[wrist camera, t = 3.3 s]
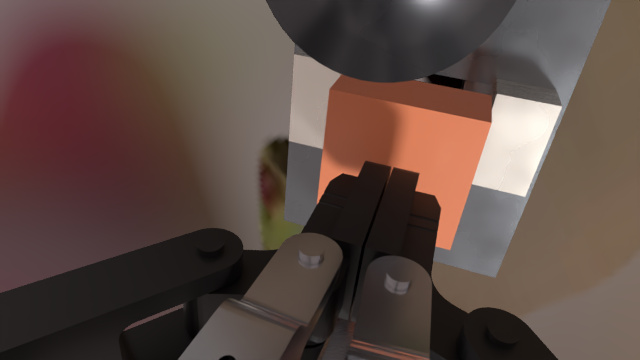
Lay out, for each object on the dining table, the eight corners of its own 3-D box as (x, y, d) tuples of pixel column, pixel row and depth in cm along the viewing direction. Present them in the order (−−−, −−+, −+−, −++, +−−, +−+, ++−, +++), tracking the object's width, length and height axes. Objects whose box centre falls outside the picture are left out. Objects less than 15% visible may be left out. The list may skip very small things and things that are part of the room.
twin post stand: (330, -151, 16) (-131, -276, 4) (638, -121, 14) (1444, -193, 2) (300, 206, 25) (120, 502, 13) (489, 256, 23) (488, 664, 11)
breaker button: (364, 45, 17) (329, 89, 13) (491, 69, 16) (491, 123, 12) (349, 152, 19) (315, 214, 15) (458, 177, 18) (450, 250, 14)
